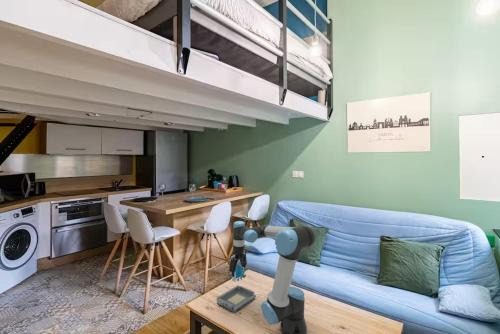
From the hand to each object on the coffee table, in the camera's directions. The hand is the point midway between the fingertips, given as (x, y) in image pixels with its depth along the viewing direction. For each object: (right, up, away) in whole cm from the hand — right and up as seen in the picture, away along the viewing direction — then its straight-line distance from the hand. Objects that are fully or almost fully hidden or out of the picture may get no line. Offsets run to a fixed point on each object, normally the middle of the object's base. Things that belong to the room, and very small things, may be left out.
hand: (238, 278), depth 166 cm
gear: (0, -1, 0) cm, 1 cm away
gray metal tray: (-1, -18, +5) cm, 19 cm away
